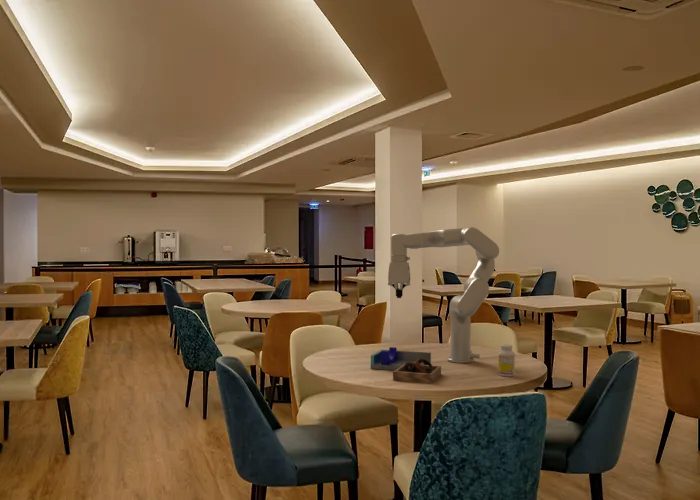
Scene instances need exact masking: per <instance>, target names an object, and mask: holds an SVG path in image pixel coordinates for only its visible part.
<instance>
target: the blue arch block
mask: <svg viewBox="0 0 700 500" xmlns="http://www.w3.org/2000/svg"><path fill="white" fill-rule="evenodd" d="M381 350H382V351H381V364H384V365H388V364H390V363H392V362H394V361H396V359H397V347H394V346H393V347H392V346H390V347H389V348H388V350H389V351H383V350H384V349H381Z"/></svg>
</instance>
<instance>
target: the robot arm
mask: <svg viewBox="0 0 700 500" xmlns="http://www.w3.org/2000/svg"><path fill="white" fill-rule="evenodd" d="M463 246H470V247H472V248H473V249H474V251H475V255H476V257H477V264H476V266H475V268H474V269H473V270H472V271H471V274H470V275H469V277H468V278H467V279H466V280H465V282H464V284H463V291H464V293H463V295H462V294H458V295H455V296H453V297H452V298H451V299H450V302H449V316H450V356H448V357H446V358H447V359H446V360H447V361H448V362H451V363H456V364H457V363H458V364H459V363H460V364H467V363H469V364H470V363H473V362H474V361H475V360H474V359H480V356H481V355H480V354H478V353H473V351H472V349H471V346H472V345H471V336H472V335H471V332H472V331H471V328H472V326H471V325H472V324H471V317H472V316H473V315H474V314H475V313H476V312H477V310H478V309H479V307H480V306H481V305H482V304H483V302H484V300H485V299H486V297H487V295H488V294H489V290H490V286H489V283H488V282H489V280H490V279H491V277H492V276H493V274H494V270H495V266H496V262H495V261H496V260H495V259H497V257H499V255H500V248H499V246H498V244H497V243H496V242H495V241H494V240H492V239H491V238H490V237H488V235H486V234H484V233H483V232H482V231H480V229H478V228H477V227H473V226H471V227H469V226H468V227H459V228H458V227H457V228H449V229H448V228H447V229H439V230H438V229H437V230H435V231H426V232H415V233H413V232H412V233H393V234H392V235H391V237H390V258H391V259H390V262H389V265H388V275H387V276H388V277H387V281H388V282H387V285H388V286H389V287H392V288H394V290H395V297H396V299H402V297H404V296H403V293H404V292H403V290H404V289H405V288H406V287H409V286H411V269H410V263H409V262H408V261H410V260H411V257H410V256H408V249H409V250H410V249H411V250H417V249H418V250H419V249H424V248H449V247H450V248H451V247H463ZM399 285H400V286H399Z"/></svg>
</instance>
